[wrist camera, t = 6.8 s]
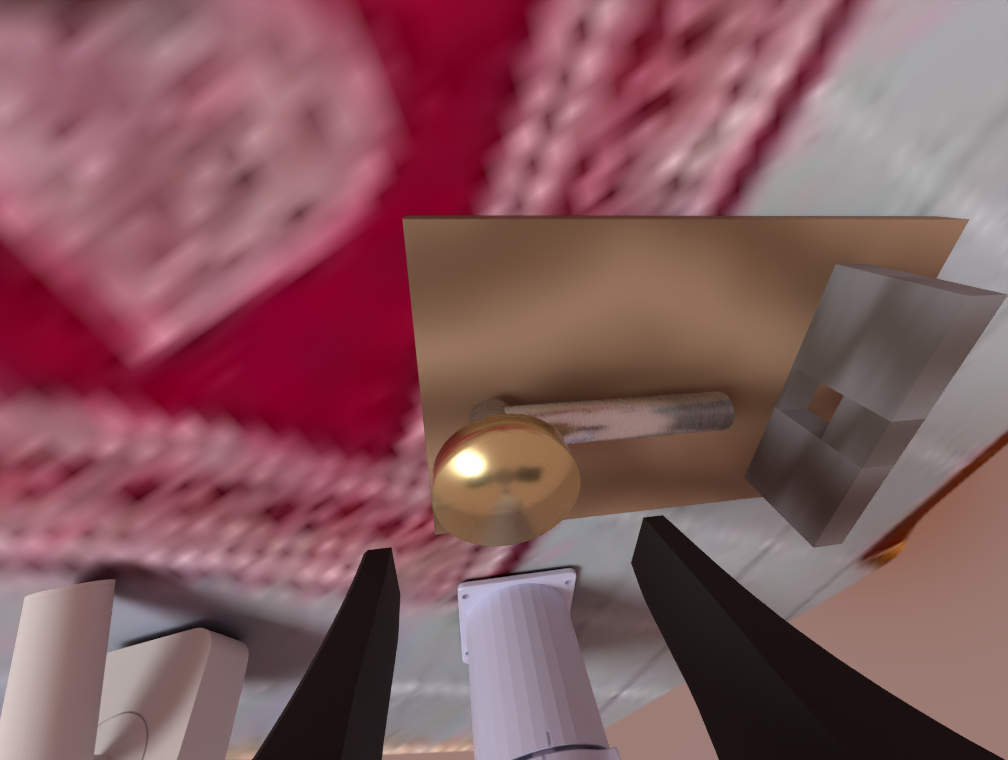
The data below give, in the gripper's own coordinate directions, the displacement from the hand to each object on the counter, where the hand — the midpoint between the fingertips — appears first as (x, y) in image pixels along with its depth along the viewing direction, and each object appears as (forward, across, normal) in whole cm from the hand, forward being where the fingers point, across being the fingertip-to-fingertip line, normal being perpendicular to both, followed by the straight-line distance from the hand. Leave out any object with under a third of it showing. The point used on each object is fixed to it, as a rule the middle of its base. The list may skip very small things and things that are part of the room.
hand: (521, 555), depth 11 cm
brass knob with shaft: (+7, -4, 0) cm, 8 cm away
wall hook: (+9, +20, +14) cm, 26 cm away
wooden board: (+9, -9, 0) cm, 13 cm away
